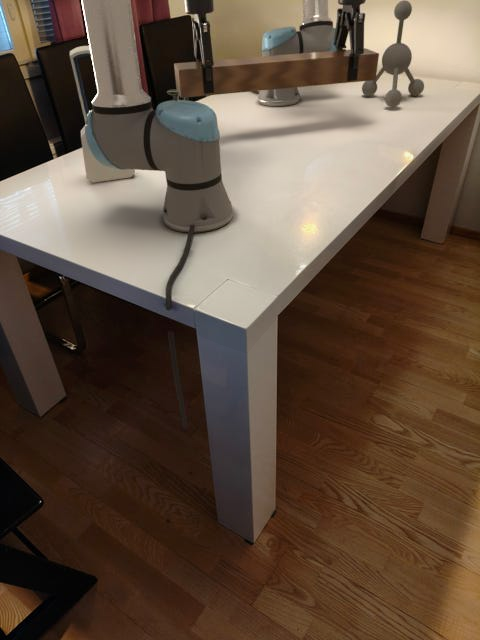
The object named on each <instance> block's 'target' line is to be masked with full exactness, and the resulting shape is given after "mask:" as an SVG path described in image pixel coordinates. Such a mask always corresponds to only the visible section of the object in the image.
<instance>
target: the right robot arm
mask: <svg viewBox="0 0 480 640" xmlns="http://www.w3.org/2000/svg"><path fill="white" fill-rule="evenodd" d="M365 3H366V0H337V4H338V5H341V6H342V7H339V8H337V10H336V12H337V13H336V23H335V27H334V20H332V19H331V18H330V17H329V0H302V14H303V16H302V17H303V20H302V22H301V23H300V25H299V27H298V28H299V31H298V30H297V29H296V27H295V26H283V27H278V28H273V29H271V30H268V31H266V32H265V33H264V34H263V36H262V37H261V38H262V41H261V57H263V56H276V55H288V54H301V53H313V52H326V51H339V50H347V45H346V44H347V40H348V38H349V46H350V47H349V48H350V50H351V54H349V67H348V79H347V81H353V80H357V74H358V64H359V56H360V55H361V54H363V53H364V48H365V20H366V13H365V12H361V5H363V4H365ZM348 36H349V37H348ZM251 93H254V94H258V96H257V103H258V104H259V105H262V106H266V107H288V106H293V105H296V104H298V103H299V102H300V92H299V87H294V88H284V89H273V90H262V91H251Z"/></svg>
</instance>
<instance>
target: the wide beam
mask: <svg viewBox="0 0 480 640" xmlns="http://www.w3.org/2000/svg"><path fill="white" fill-rule="evenodd" d="M349 54H351V49H346V50H339V51H326V52H313V53H301V54H288V55H276V56H263V57H262V56H253V57H251V56H250V57H240V58H225V59H215V60H214V59H213V62H214V66H212V70H213V84H214V93H208V94H204V85H203V73H202V68H200V66H201V65H203V63H202V61H200V62H196V61H188V62H177V63H176V62H175V63H174V64H173V67H174V78H175V88H176V90H177V92H178V93H179V95H180V97H181V98H183V99H184V98H185V99H186V97H188V98H196V97H206V96H216V95H218V96H219V95H228V94H239V93H250V92H251V93H252V91H262V90H273V89H284V88H294V87H297V88H303V87H305V88H306V87H316V86H327V85H337V84H338V85H339V84H346V83H358V82H365V81H371V80H376V75H377V74H378V67H379V66H378V65H379V57H380V53H379V52H376V51H373V50H372V49H369V48H366V47H364V53H363V54H361V55H360V56H359V64H358V74H357V80H353V81H347V79H348V67H349Z"/></svg>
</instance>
